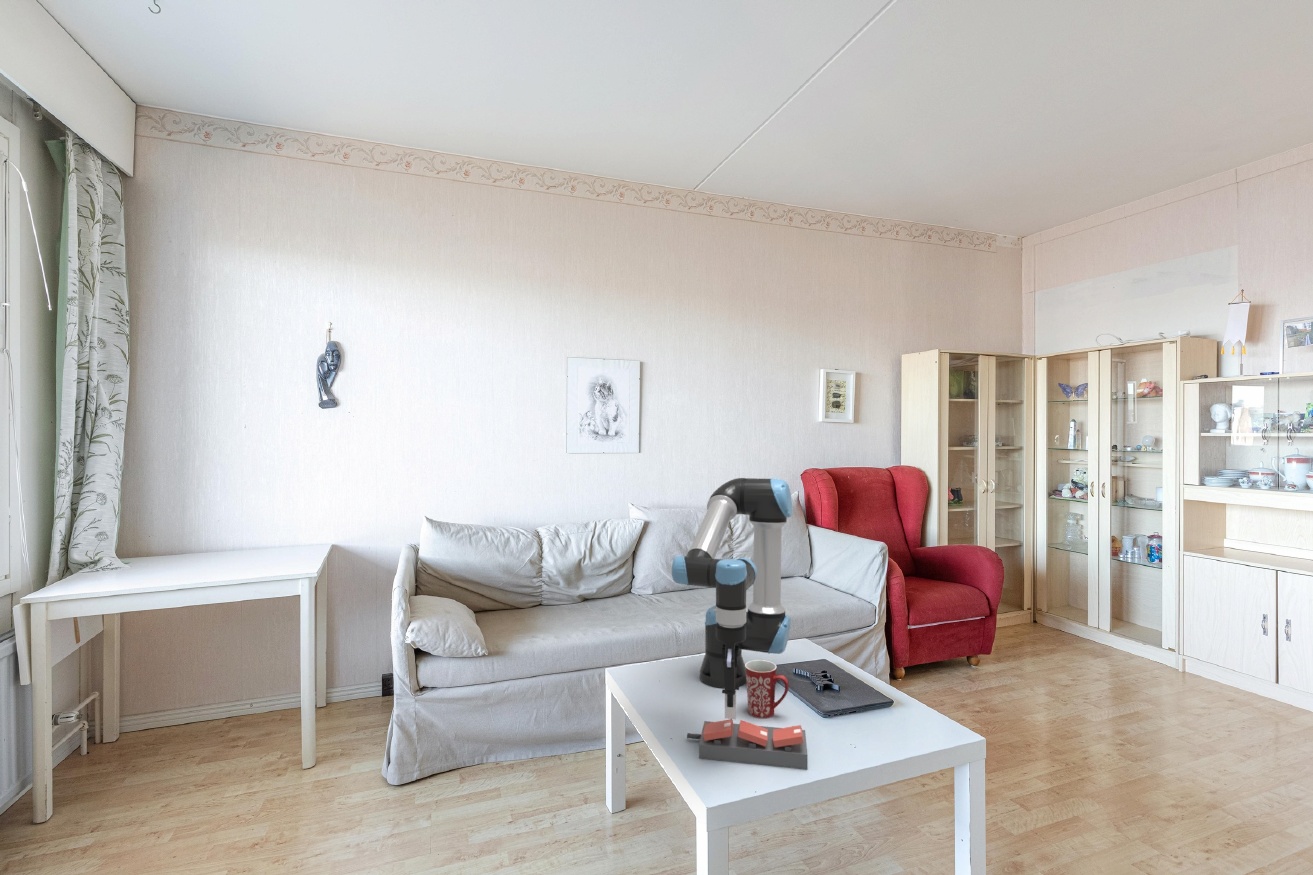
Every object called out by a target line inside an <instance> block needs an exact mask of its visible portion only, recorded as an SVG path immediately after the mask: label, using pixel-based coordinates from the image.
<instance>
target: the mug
mask: <svg viewBox="0 0 1313 875" xmlns="http://www.w3.org/2000/svg"><path fill="white" fill-rule="evenodd" d="M744 664H745V668H746V691H747V692H746V694H747V696H746V698H747V709H748V710H747V712H748V714H750V715H751V716H752V717H755V718H758V719H759V718H760V719H767V718H771V717H772V716H774V714H775V708H776V707H778V706H779V705H780V704H781V703H782V701H783V700H784V699H785V698H786V696H787V694H788V692H789V687H790V684H789V680H788V678H787V677H786V676H785V675H782V674H777V664H775V662H772V661H769V660H763V659H753V660H748V661H747V662H745V663H744ZM776 674H777V675H776ZM778 680H781V681H782V682H783V683H784V691H783V694H782V695H781V697H780V698H779V699H778V700H776V698H775V697H776V684H777V681H778ZM775 700H776V701H775Z"/></svg>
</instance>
